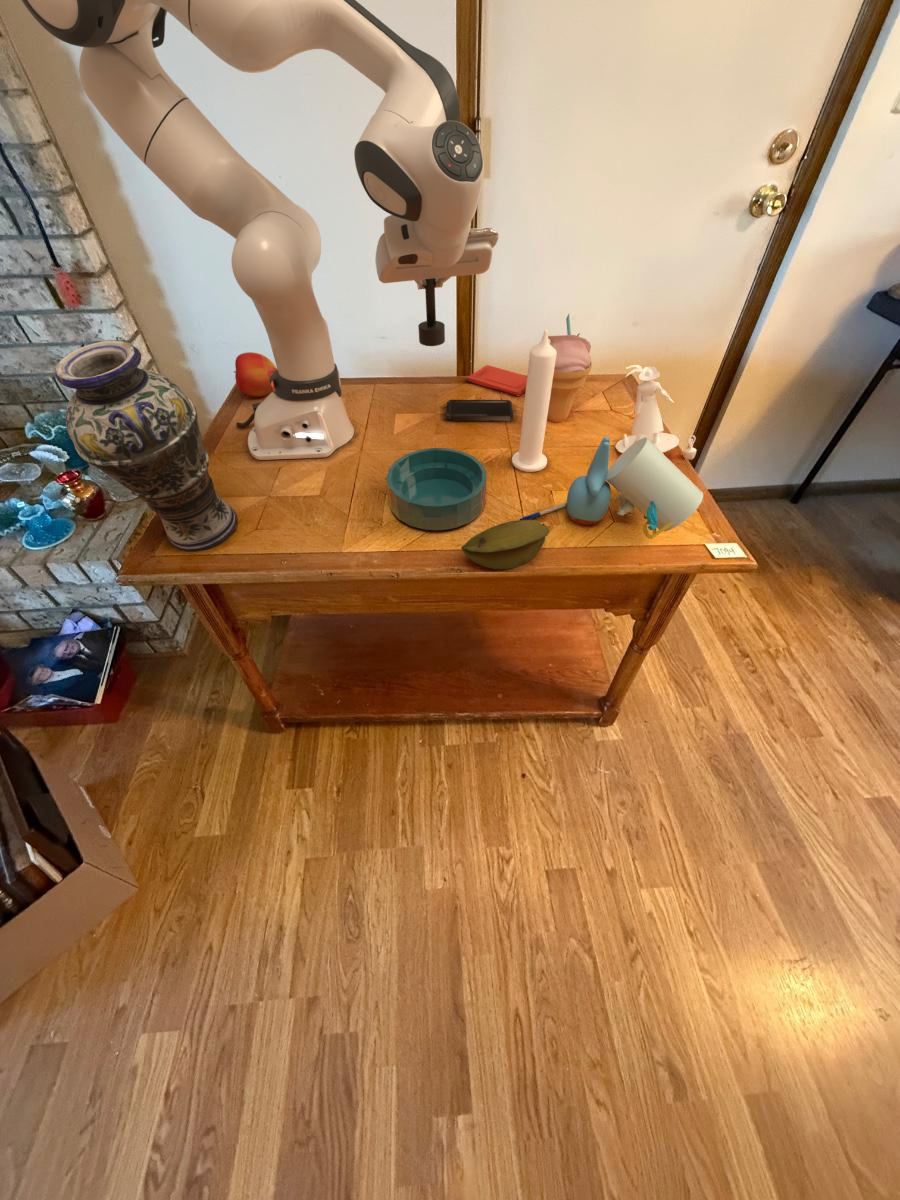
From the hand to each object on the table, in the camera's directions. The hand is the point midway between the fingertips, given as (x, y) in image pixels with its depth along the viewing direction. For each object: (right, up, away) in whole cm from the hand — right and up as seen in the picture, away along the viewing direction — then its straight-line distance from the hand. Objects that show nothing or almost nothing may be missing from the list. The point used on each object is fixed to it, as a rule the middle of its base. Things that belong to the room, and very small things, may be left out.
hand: (429, 284), depth 93 cm
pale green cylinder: (+32, -37, -11) cm, 50 cm away
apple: (-38, -5, +27) cm, 47 cm away
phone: (+11, -16, +21) cm, 28 cm away
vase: (-40, -47, -6) cm, 62 cm away
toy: (+29, -34, -16) cm, 47 cm away
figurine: (+47, -31, +10) cm, 57 cm away
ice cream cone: (+28, -18, +19) cm, 39 cm away
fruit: (+13, -52, -11) cm, 55 cm away
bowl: (+2, -41, -1) cm, 41 cm away
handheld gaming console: (+23, -8, +27) cm, 37 cm away
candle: (+20, -32, +7) cm, 38 cm away
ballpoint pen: (+21, -43, -5) cm, 48 cm away
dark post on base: (0, -7, +7) cm, 10 cm away
